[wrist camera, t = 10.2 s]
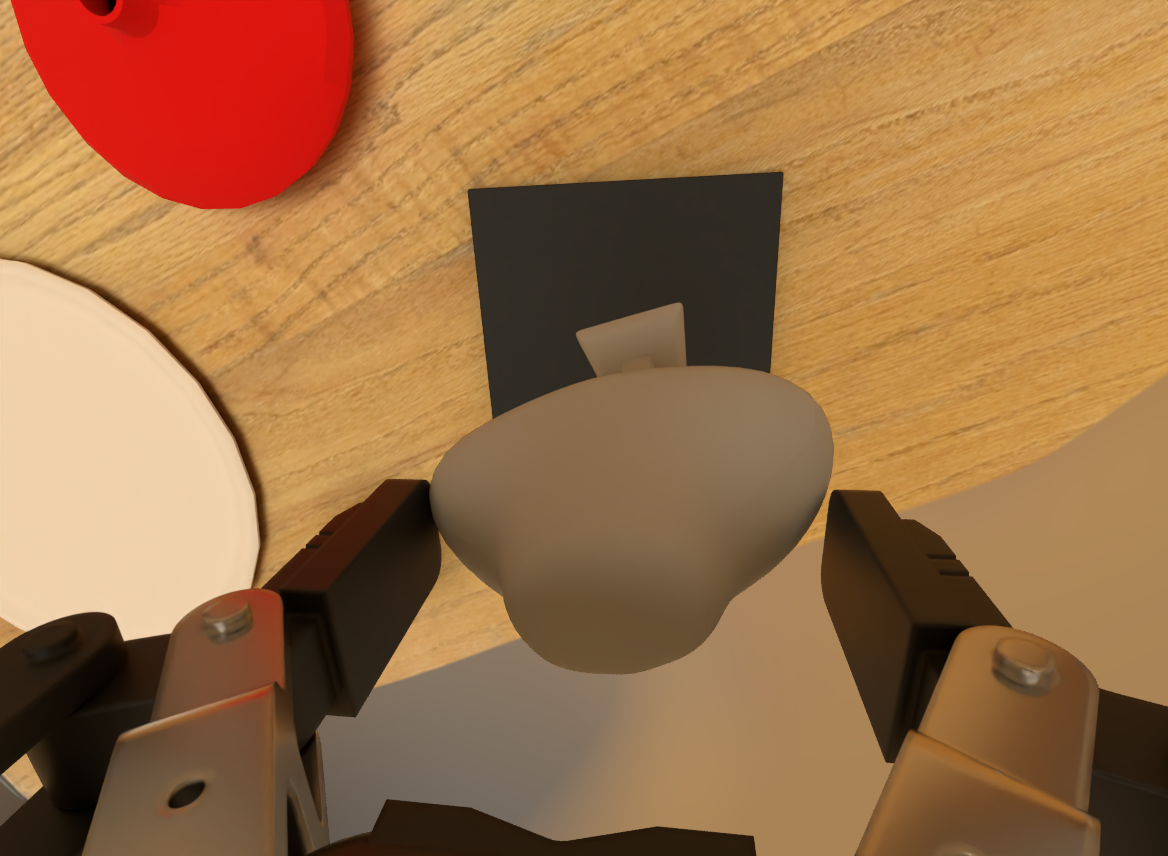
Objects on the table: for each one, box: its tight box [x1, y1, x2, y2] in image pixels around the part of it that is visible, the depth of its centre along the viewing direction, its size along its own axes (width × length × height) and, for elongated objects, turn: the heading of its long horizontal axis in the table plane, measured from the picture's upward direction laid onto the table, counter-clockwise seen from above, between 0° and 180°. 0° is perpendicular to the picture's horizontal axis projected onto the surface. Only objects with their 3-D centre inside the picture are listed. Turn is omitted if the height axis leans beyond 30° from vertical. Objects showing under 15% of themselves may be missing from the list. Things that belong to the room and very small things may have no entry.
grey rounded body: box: [429, 303, 834, 674], centre depth 13 cm, size 8×5×12 cm
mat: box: [468, 172, 783, 419], centre depth 31 cm, size 15×15×1 cm
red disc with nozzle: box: [11, 0, 355, 209], centre depth 26 cm, size 16×16×7 cm
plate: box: [0, 259, 261, 641], centre depth 40 cm, size 29×29×1 cm
